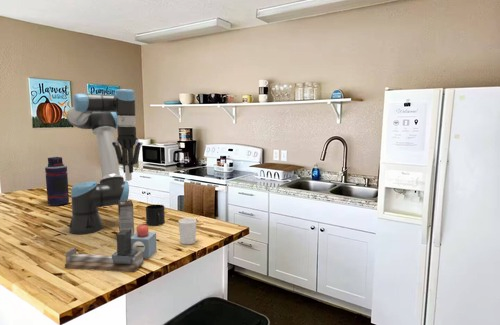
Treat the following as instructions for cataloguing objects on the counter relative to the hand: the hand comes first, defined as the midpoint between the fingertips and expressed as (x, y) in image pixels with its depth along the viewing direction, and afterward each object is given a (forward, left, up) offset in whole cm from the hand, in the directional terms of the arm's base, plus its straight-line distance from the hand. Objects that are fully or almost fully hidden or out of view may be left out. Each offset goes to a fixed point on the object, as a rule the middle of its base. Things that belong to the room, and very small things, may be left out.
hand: (128, 180), depth 150 cm
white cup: (+25, +4, -29) cm, 38 cm away
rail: (+1, -24, -28) cm, 37 cm away
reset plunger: (+11, -12, -20) cm, 26 cm away
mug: (+1, +27, -29) cm, 39 cm away
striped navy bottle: (-76, +57, -29) cm, 99 cm away
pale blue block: (+11, -12, -28) cm, 33 cm away
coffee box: (-6, +8, -29) cm, 30 cm away
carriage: (+9, -24, -26) cm, 37 cm away
